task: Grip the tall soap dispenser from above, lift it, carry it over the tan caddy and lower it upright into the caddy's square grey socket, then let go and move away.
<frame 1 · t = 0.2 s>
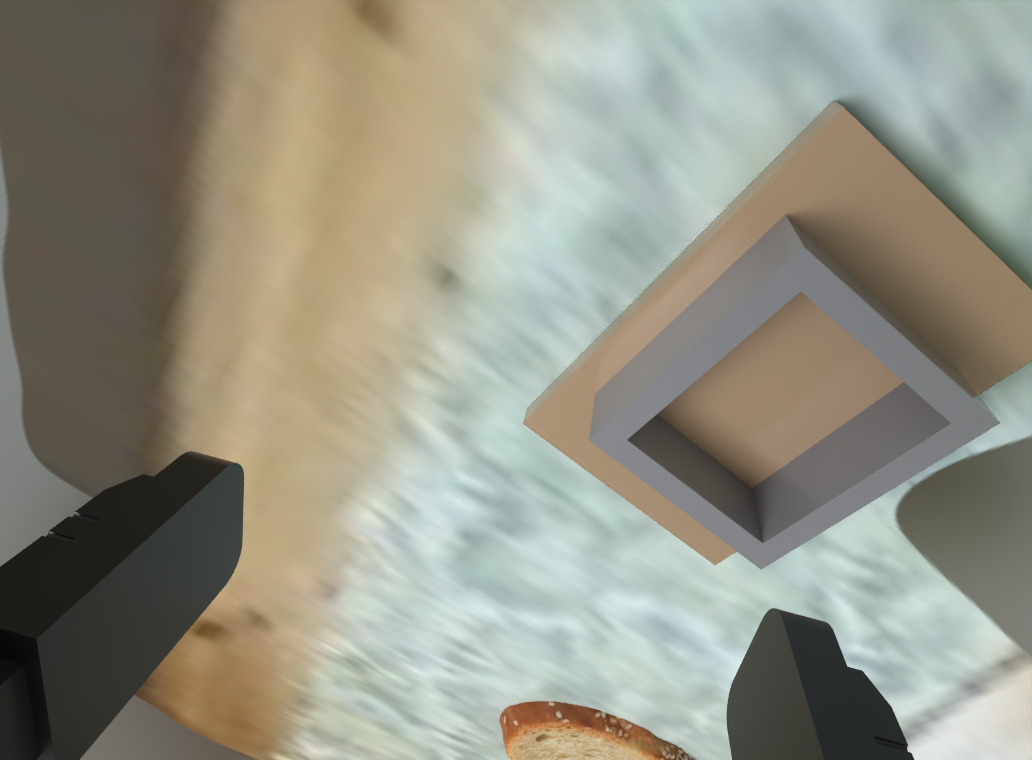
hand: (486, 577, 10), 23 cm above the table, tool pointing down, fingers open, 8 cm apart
soap caddy: (761, 367, 32), on the table
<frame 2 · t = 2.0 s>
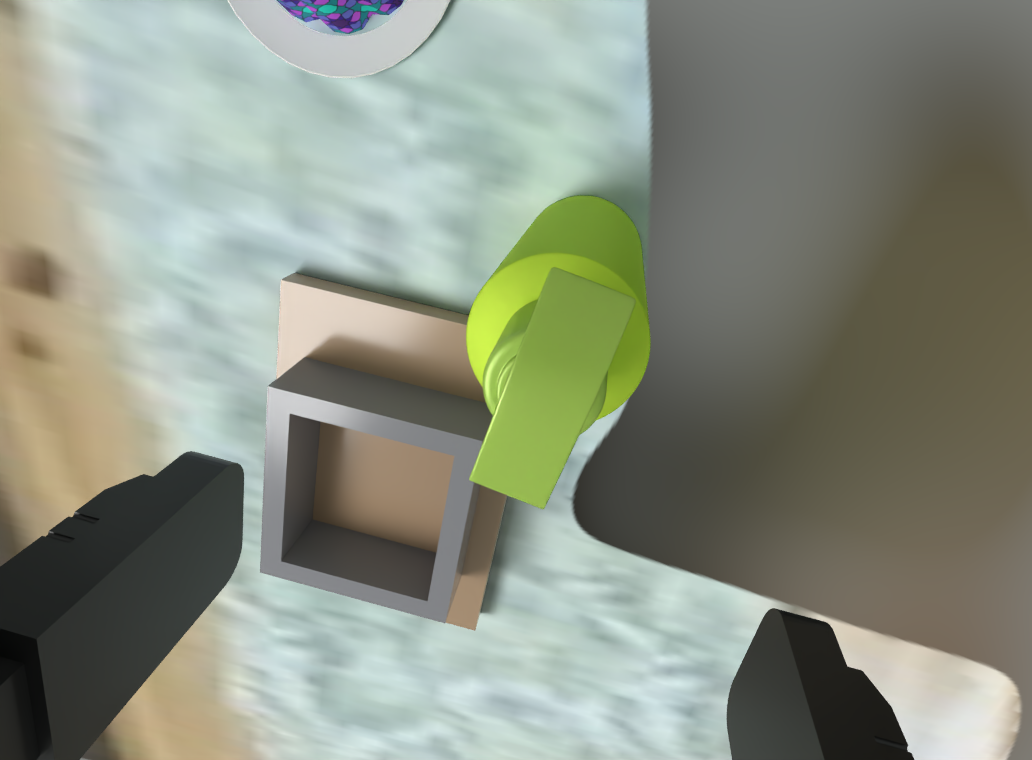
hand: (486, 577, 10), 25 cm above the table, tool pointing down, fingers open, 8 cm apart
soap dispenser: (586, 245, 32), on the table
soap caddy: (396, 459, 39), on the table
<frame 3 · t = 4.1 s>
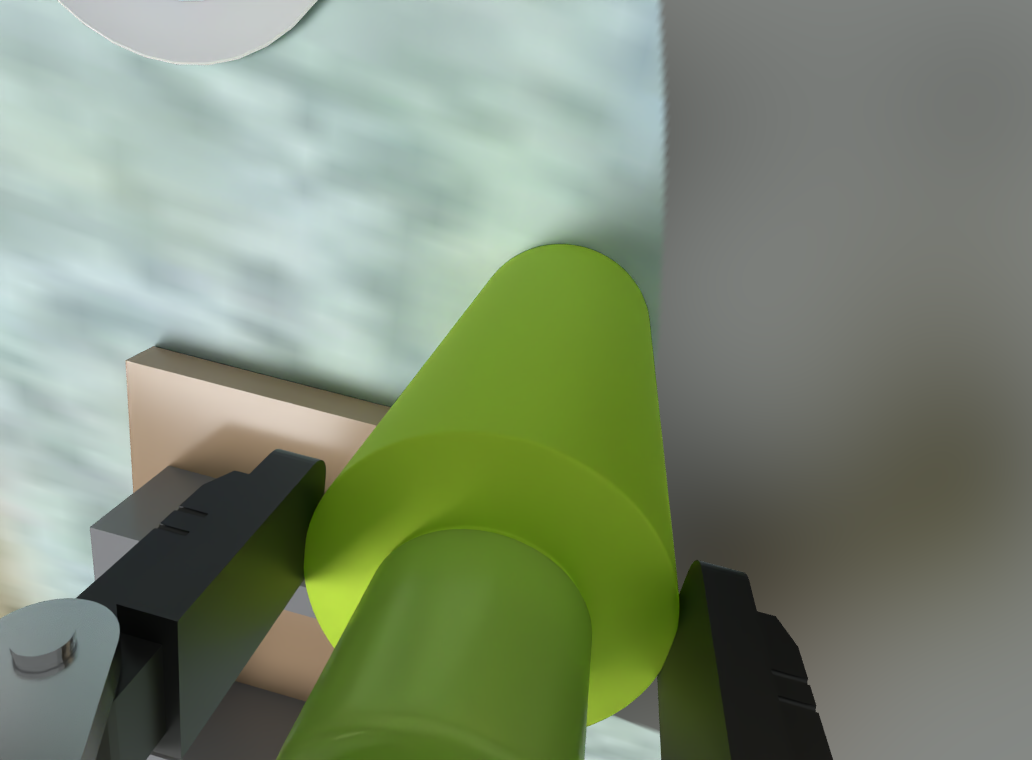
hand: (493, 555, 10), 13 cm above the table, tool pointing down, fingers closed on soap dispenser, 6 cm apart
soap dispenser: (567, 315, 22), on the table, touching gripper
soap caddy: (310, 593, 28), on the table
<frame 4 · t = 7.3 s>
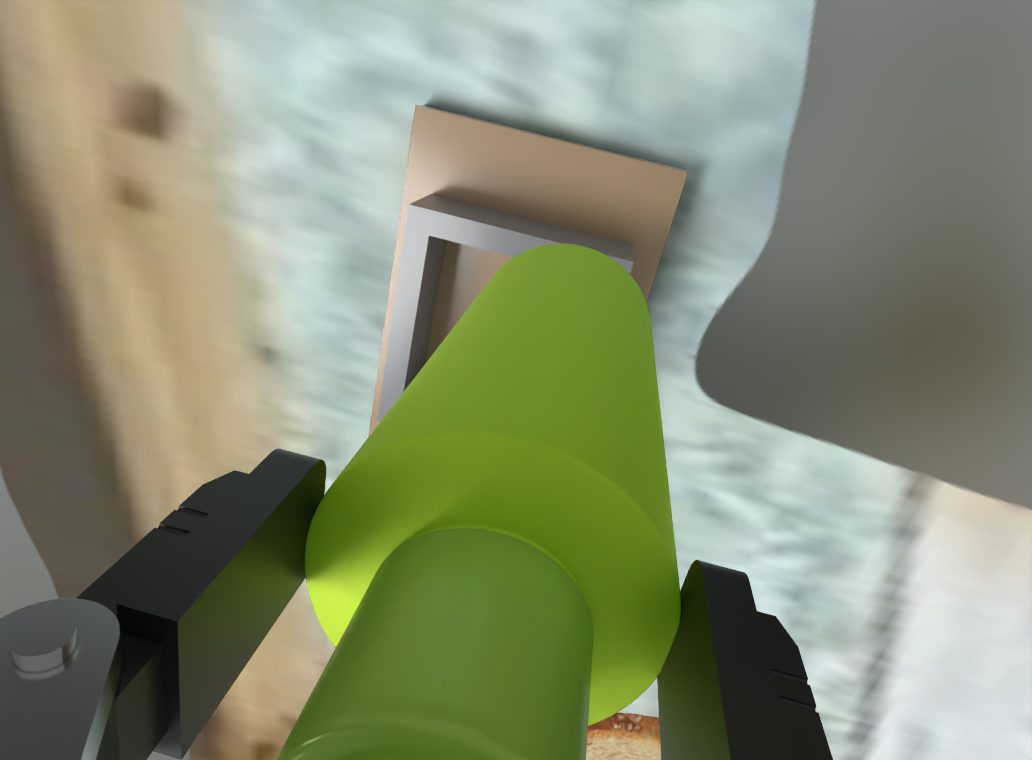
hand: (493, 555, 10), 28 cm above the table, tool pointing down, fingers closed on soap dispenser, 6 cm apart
soap dispenser: (567, 315, 22), point 15 cm above the table, touching gripper
soap caddy: (512, 315, 38), on the table
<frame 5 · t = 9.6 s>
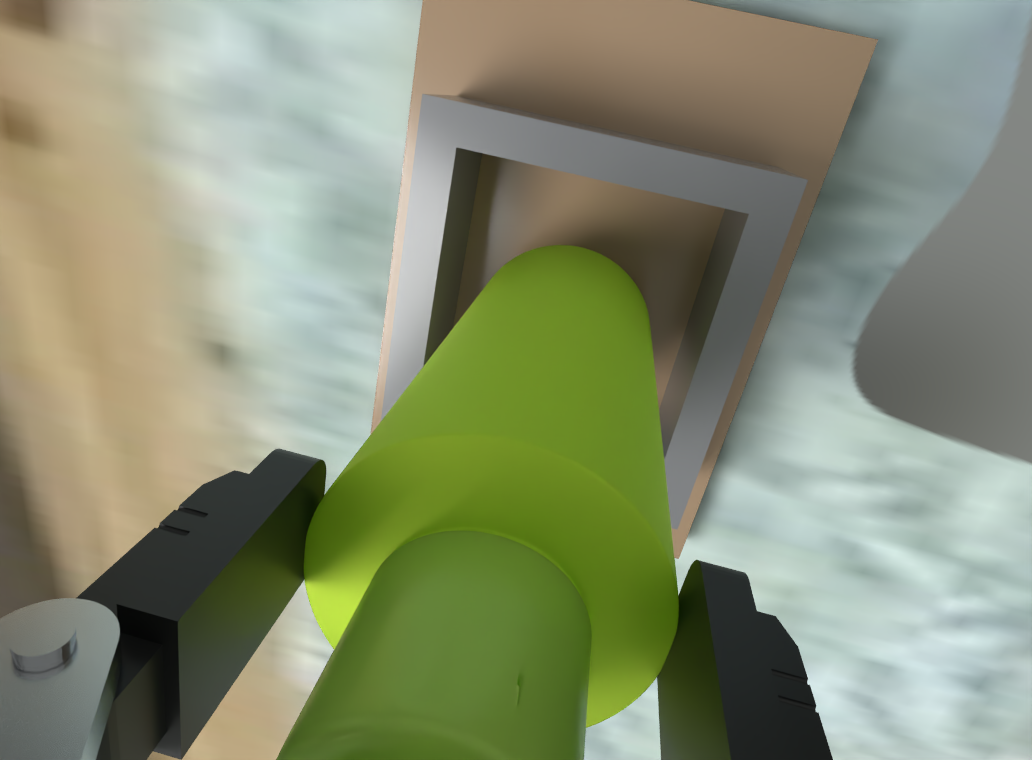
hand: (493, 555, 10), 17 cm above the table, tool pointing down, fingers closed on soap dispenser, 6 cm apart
soap dispenser: (567, 316, 22), point 4 cm above the table, touching gripper
soap caddy: (576, 288, 25), on the table
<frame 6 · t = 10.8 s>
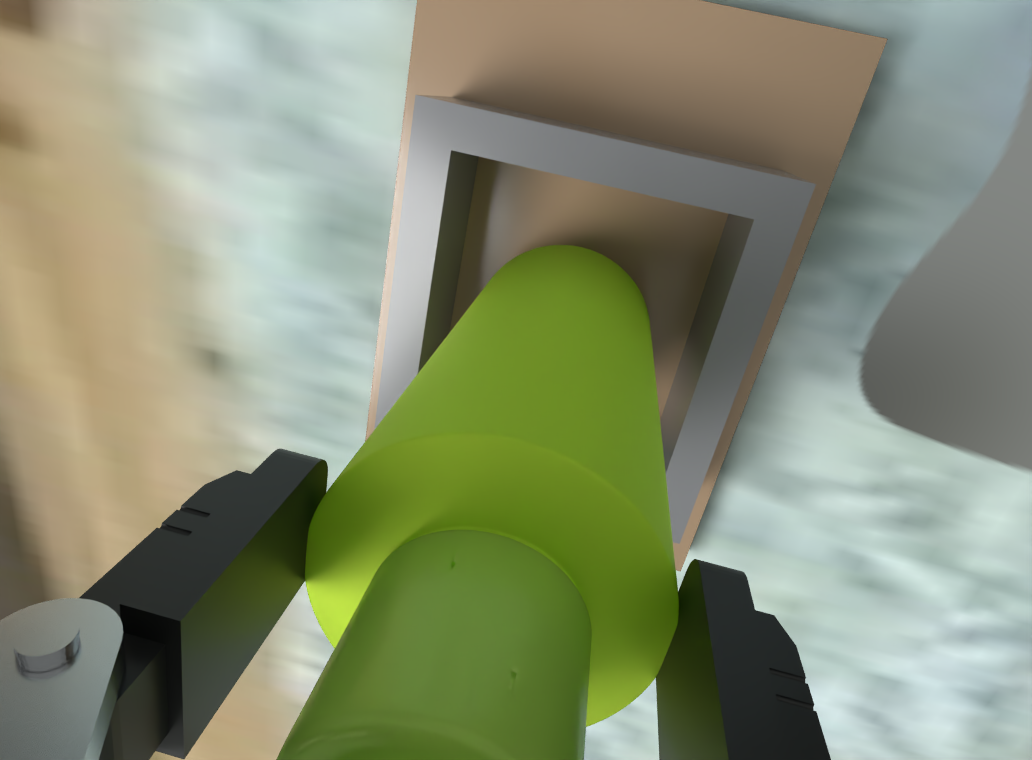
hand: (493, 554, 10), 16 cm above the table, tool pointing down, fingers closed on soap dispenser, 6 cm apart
soap dispenser: (567, 316, 22), point 3 cm above the table, touching gripper
soap caddy: (575, 295, 25), on the table
when the fingers open (16 cm above the table, at t = 11.0 s): soap dispenser drops 2 cm, resting on soap caddy.
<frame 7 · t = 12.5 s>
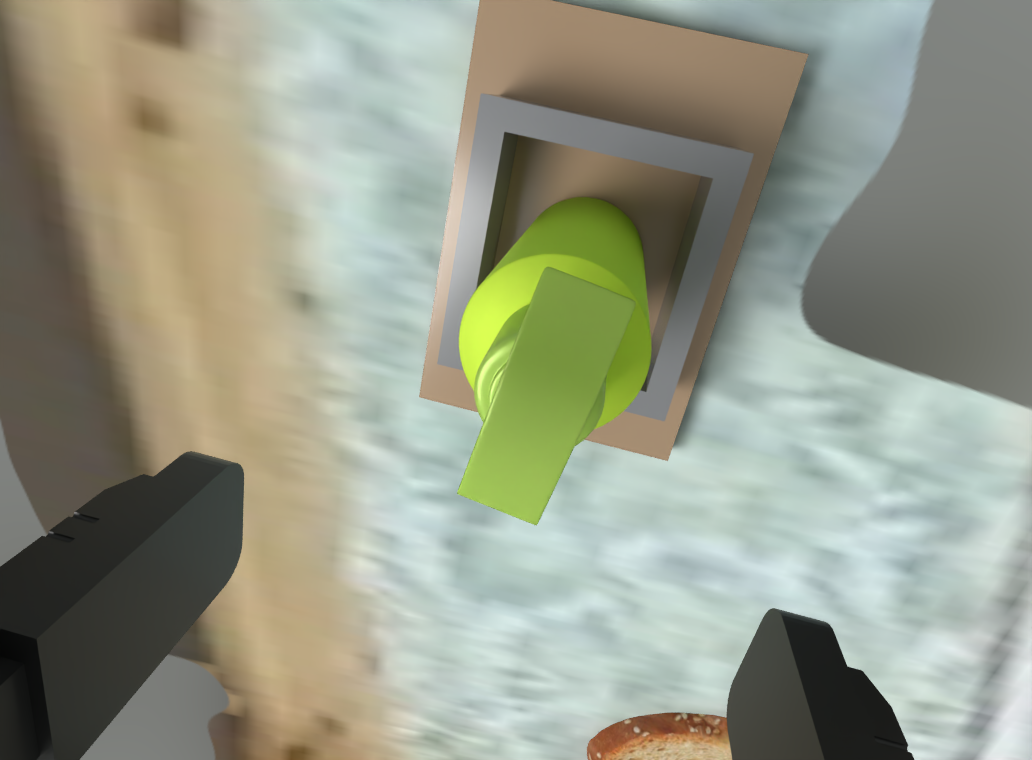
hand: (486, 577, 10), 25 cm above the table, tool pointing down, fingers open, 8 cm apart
soap dispenser: (586, 248, 32), point 1 cm above the table, touching soap caddy
soap caddy: (587, 244, 33), on the table
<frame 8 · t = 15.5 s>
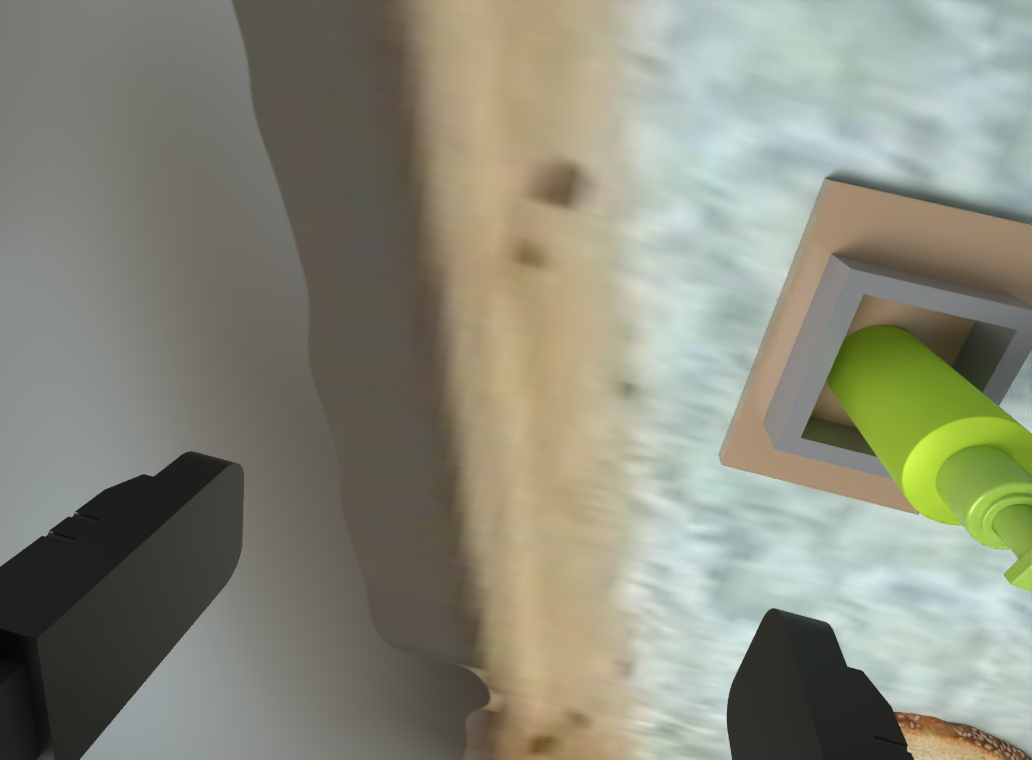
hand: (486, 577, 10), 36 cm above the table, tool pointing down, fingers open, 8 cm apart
soap dispenser: (878, 360, 42), point 1 cm above the table, touching soap caddy
soap caddy: (871, 354, 43), on the table
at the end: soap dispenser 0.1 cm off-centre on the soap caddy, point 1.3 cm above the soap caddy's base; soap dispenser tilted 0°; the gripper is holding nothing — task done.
